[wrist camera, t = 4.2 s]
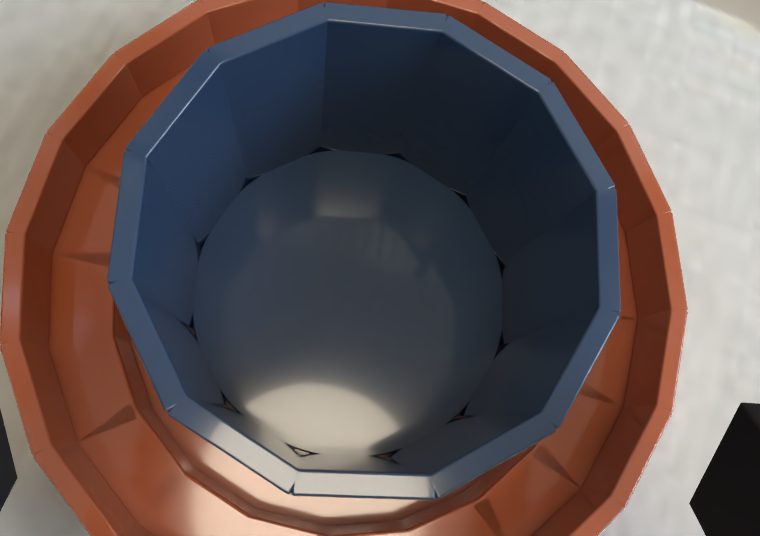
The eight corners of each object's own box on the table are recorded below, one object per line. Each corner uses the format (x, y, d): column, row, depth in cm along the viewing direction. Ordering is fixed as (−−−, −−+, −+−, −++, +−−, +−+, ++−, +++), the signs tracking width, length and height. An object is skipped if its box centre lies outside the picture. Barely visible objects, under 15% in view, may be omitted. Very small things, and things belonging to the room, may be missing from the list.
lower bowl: (-65, 385, 21) (-163, 375, 16) (276, -37, 25) (270, -134, 21) (440, 722, 20) (478, 804, 16) (699, 231, 25) (784, 189, 20)
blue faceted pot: (110, 347, 21) (-2, 303, 13) (304, 87, 24) (305, -77, 16) (402, 540, 21) (462, 610, 13) (567, 255, 23) (699, 171, 16)
